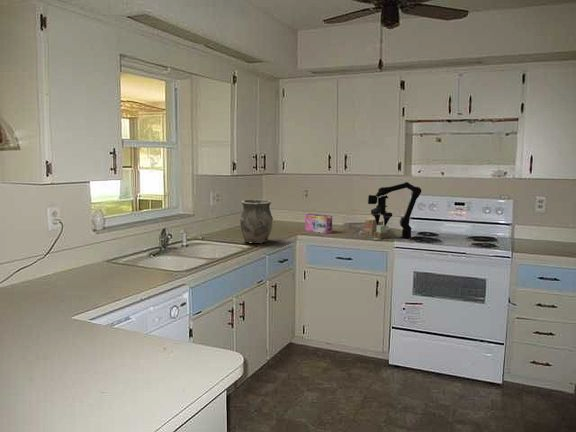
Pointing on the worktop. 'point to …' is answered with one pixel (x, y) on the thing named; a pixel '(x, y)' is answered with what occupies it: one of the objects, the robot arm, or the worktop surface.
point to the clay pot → (256, 220)
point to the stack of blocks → (371, 226)
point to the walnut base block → (381, 235)
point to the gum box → (318, 223)
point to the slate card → (375, 239)
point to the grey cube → (389, 231)
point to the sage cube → (381, 229)
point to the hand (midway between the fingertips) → (381, 224)
